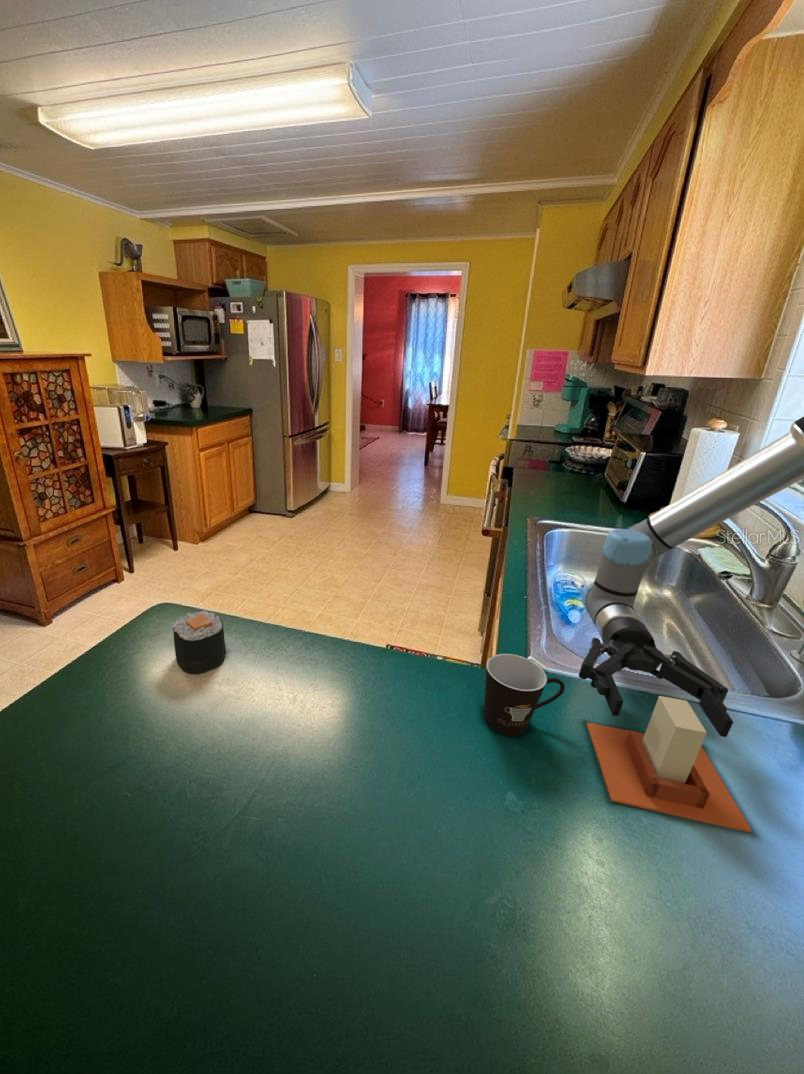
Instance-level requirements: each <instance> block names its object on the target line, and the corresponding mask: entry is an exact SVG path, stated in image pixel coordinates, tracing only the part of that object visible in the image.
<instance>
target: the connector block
mask: <svg viewBox="0 0 804 1074" xmlns="http://www.w3.org/2000/svg"><path fill="white" fill-rule="evenodd" d="M644 734H645V735H644V738H643V740H642V744H643V746H644V748H645V751H646V753H647V755H648V757H649V760H650V762H651V764H652V766H653V769H654V771H655V773H656V775H657V778H660V779H665V780H669V781H674V782H679V783H683V784H685V782H686V780H687V778H688V775H689V773H690V771H691V768H692V766H693V764H694V762H695V759H696V757H697V755H698V752H699V750H700V748H701V746H702V747H703V743H704V741H705V739H706V736H707V735H708V732H707V730H706V728H705V727H704V725H703V724H702V722H701V720H700V719H699V717H698V716H697V714H696V712H695V711H694V709H693V708H692V706H691V705H690V703H689V702H688V700H685V699H679V698H673V697H668V696H663V695H659V696H658V698H657V700H656V704H655V706H654V708H653V711H652V714H651V717H650V720H649V722H648V724H647V727H646V731H645V732H644Z"/></svg>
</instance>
